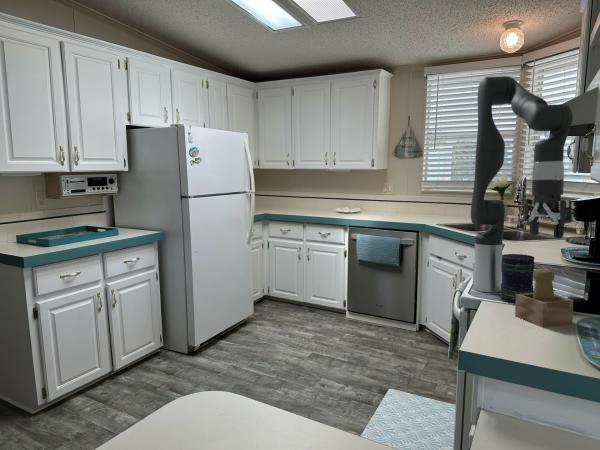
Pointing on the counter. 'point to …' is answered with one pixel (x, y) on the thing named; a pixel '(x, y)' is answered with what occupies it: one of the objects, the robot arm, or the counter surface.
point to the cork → (543, 285)
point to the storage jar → (516, 276)
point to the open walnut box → (544, 310)
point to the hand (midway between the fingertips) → (545, 236)
